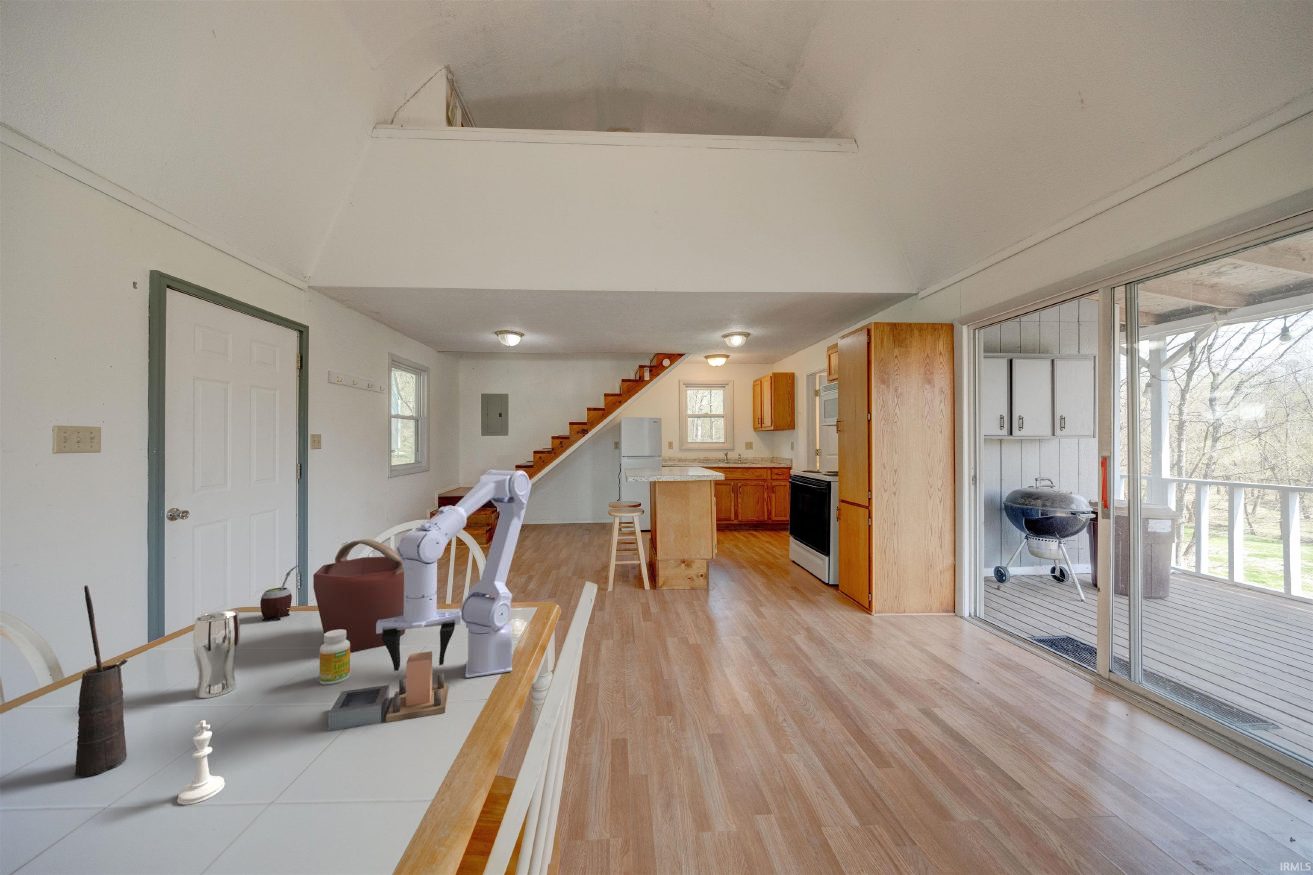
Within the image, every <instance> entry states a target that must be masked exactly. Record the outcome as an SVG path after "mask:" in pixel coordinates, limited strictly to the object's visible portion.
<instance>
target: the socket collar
mask: <svg viewBox="0 0 1313 875" xmlns="http://www.w3.org/2000/svg"><path fill="white" fill-rule="evenodd" d="M390 685H391V684H384V685H383V684H382V685H378V686H377V685H375V686H371V687H364V688H355V689H349V690H342V691H341V692H340V693H339V695H338V697H337V698H336V701H335V702H334V704H333V706H332V707H331V709H330V710H329V712H328V732H329V731H335V730H341V729H342V730H344V729H348V728H355V727H360V726H367V725H368V726H369V725H373V724H379V723H382V721H383V718H384V715H385V713H386V711H387V708H388V706H389V703H390Z"/></svg>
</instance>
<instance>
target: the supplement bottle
mask: <svg viewBox="0 0 1313 875" xmlns="http://www.w3.org/2000/svg"><path fill="white" fill-rule="evenodd" d="M323 642H324V643H323V644H322V645H321V646H320V647H319V670H318V671H319V673H318V674H319V678H318V679H319V683H320V684H322V685H335V684H339V683H341V682H344V681H345V680H347V679H348V678H349V677H350V675H351V674H350V673H351V653H350V642H349V641H348V640H346V630H342V629H340V630H333V631H329V632H327V633H325V634H324V633H323Z"/></svg>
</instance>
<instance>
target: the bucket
mask: <svg viewBox="0 0 1313 875" xmlns="http://www.w3.org/2000/svg"><path fill="white" fill-rule="evenodd" d="M358 545H365V546H367V547H370V548H372V549H374V550H376V551H378V552H380V553H381V555H383V556H362V557H358V558H353V559H347V558H348V556H349V555H350V553H351V551H352V550H353V549H354V548H355V547H357V546H358ZM312 579H313V587H312V588H313V592H314V597H315V600H316V604H317V608H318V614H319V617H320V623H321V627H322V630H323V635H324V634H325V633H327V632H329V631H333V630H340V629H342V630H346V640H348V641H349V642H350V654H353V653H357V652H361V651H367V650H371V649H376V648H381V647H386V646H385V644H384V643H383V641H382V636H383V633H378V634H376V623H377V621H378V620H382V619H388V618H394V617H399V616H403V613H404V567H402V559H401V558H400V557H399V555H398V553H397V551H395V550H394V549H393V548H392V547H390V546H388V545H386V544H384V543H382V542H380V541H377V540H373V539H359V540H353V541H350V542H349V543H346V544H344V546H342V547H341V548H339V550H338V552H337V554H336V556H335V557H334V562H333V563H328V564H323V565H322V566H321V567H320V568H318V570H317V571H316V572H315V573H313V578H312ZM405 633H406V629H404V630H401V632H400V637H402V636H403V635H405Z"/></svg>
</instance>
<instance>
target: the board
mask: <svg viewBox="0 0 1313 875" xmlns="http://www.w3.org/2000/svg"><path fill="white" fill-rule="evenodd" d="M398 684H399V685H398V690H396V691H395V692H394V696H393V697H392V700H391V703H390V706H389V709H388V712H387V714H386V720H385V722H386V723H390V722H396V721H404V720H407V719H408V720H409V719H414V718H415V719H416V718H421V717H428V716H434V715H440V714H444V713H446V710H447V709H446V708H447V701H448V696H449V688H450V684H449V683H445V674H444V673H439V674H437V684H436V685H432V695H431V699H430V703H423V704H417V705H410V706H406V678H402V679H399V682H398Z"/></svg>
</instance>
